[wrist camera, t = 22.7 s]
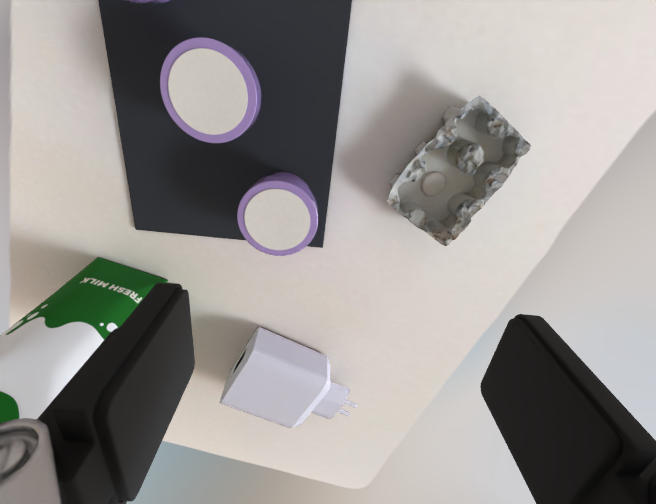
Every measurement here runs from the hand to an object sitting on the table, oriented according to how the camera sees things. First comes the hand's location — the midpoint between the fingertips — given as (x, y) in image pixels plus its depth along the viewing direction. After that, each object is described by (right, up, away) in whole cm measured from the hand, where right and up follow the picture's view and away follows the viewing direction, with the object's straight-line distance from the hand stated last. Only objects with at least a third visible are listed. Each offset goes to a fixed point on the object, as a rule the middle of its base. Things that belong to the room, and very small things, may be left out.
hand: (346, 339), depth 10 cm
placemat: (-9, +15, +17) cm, 25 cm away
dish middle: (-9, +15, +17) cm, 24 cm away
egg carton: (+10, +10, +20) cm, 25 cm away
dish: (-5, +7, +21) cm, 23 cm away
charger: (-4, -12, +32) cm, 34 cm away
